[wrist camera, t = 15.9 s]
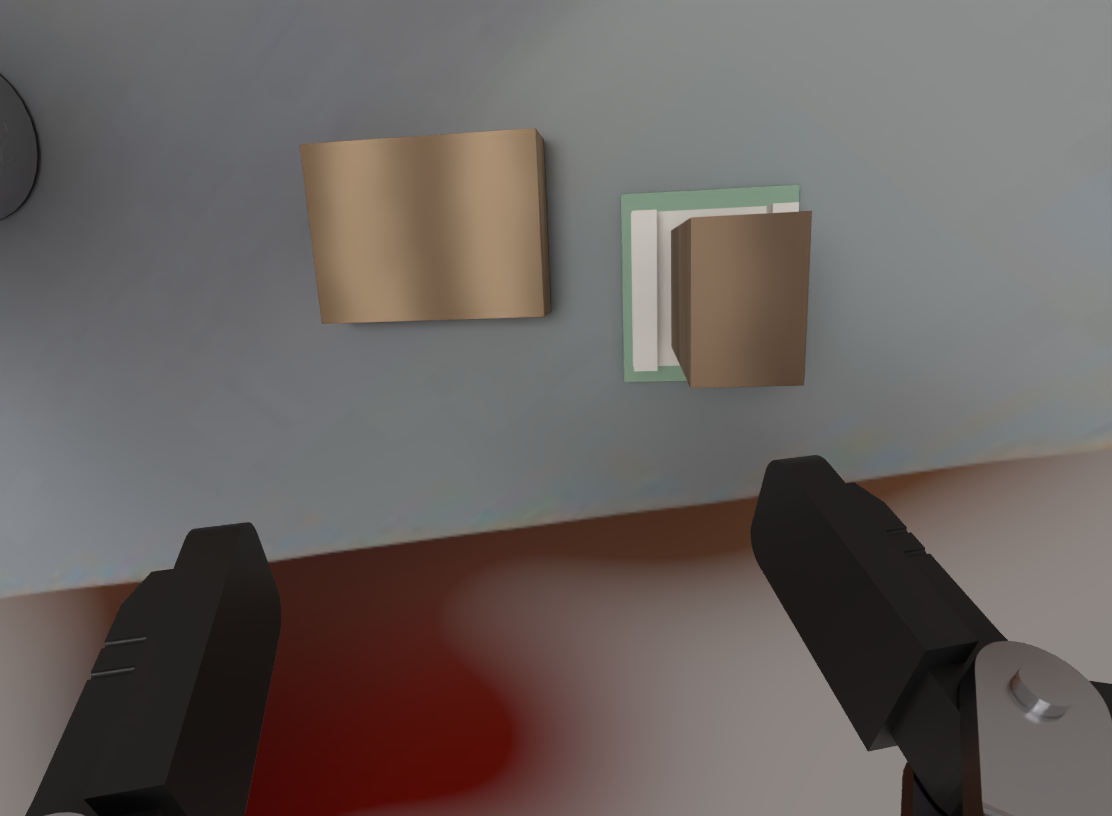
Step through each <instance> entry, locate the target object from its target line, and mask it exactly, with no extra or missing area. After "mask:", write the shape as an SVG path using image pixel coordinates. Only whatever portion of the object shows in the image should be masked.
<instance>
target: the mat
mask: <svg viewBox="0 0 1112 816" xmlns="http://www.w3.org/2000/svg"><path fill="white" fill-rule="evenodd" d="M799 186H800V185H785V186H767V187H748V188H730V189H712V190H693V191H675V192H656V193H638V194H621V226H622V285H623V343H624V382H657V381H687V379H686V377H685V375H684V373H683V371H682V368H681V366H657V370H658V371H634V367H633V333H632V261H631V213H632V211H635V210H655V209H657V211H677V210H696V209H716V208H736V207H755V206H768V205H770V204H773V203H791V202H799Z"/></svg>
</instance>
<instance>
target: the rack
mask: <svg viewBox="0 0 1112 816" xmlns="http://www.w3.org/2000/svg"><path fill="white" fill-rule="evenodd" d="M783 212H799V202H791V203H773V204H770V205H768V206H755V207H736V208H716V209H696V210H677V211H657V209H655V210H635V211H632V213H631V261H632V333H633V367H634V371H658V370H657V366H680V364H679V362H678V360H677V358H676V356H675V354H674V351H673V349H672V347H671V230H673V229H674V228H676V227H677V226H679V225H680V224H682V223H683V222H685V221H686V220H688V219H689V218H691V217H709V216H727V215H746V214H764V213H783Z"/></svg>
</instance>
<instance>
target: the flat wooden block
mask: <svg viewBox="0 0 1112 816" xmlns="http://www.w3.org/2000/svg"><path fill="white" fill-rule="evenodd" d="M300 152H301V160H302V168H303V176H304V184H305V192H306V200H307V208H308V216H309V224H310V232H311V240H312V248H313V256H314V264H315V272H316V280H317V288H318V296H319V304H320V312H321V320H322V324H329V323H360V322H392V321H423V320H454V319H486V318H517V317H544V316H546V315H547V314H549V313H550V312H551V300H550V276H549V253H548V230H547V206H546V183H545V160H544V139H543V138H542V137H541V135H540V134H539V132H538V131H537V130H536V128H531V129H516V130H501V131H486V132H472V133H457V134H442V135H428V136H413V137H398V138H383V139H369V140H354V141H339V142H324V143H310V144H300Z"/></svg>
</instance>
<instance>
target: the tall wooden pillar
mask: <svg viewBox="0 0 1112 816" xmlns="http://www.w3.org/2000/svg"><path fill="white" fill-rule="evenodd" d="M811 218H812V211H801V212H783V213H764V214H746V215H727V216H709V217H691V218H689V219H688V220H686V221H685V222H683V223H682V224H680V225H679V226H677V227H676V228H674V229H673V230H671V347H672V349H673V351H674V354H675V356H676V358H677V360H678V362H679V364H680V366H681V368H682V371H683V373H684V375H685V377H686V379H687V381H688V383H689V385H690V388H709V387H754V386H799V385H804V377H805V354H806V331H807V309H808V286H809V263H810V241H811Z"/></svg>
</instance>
